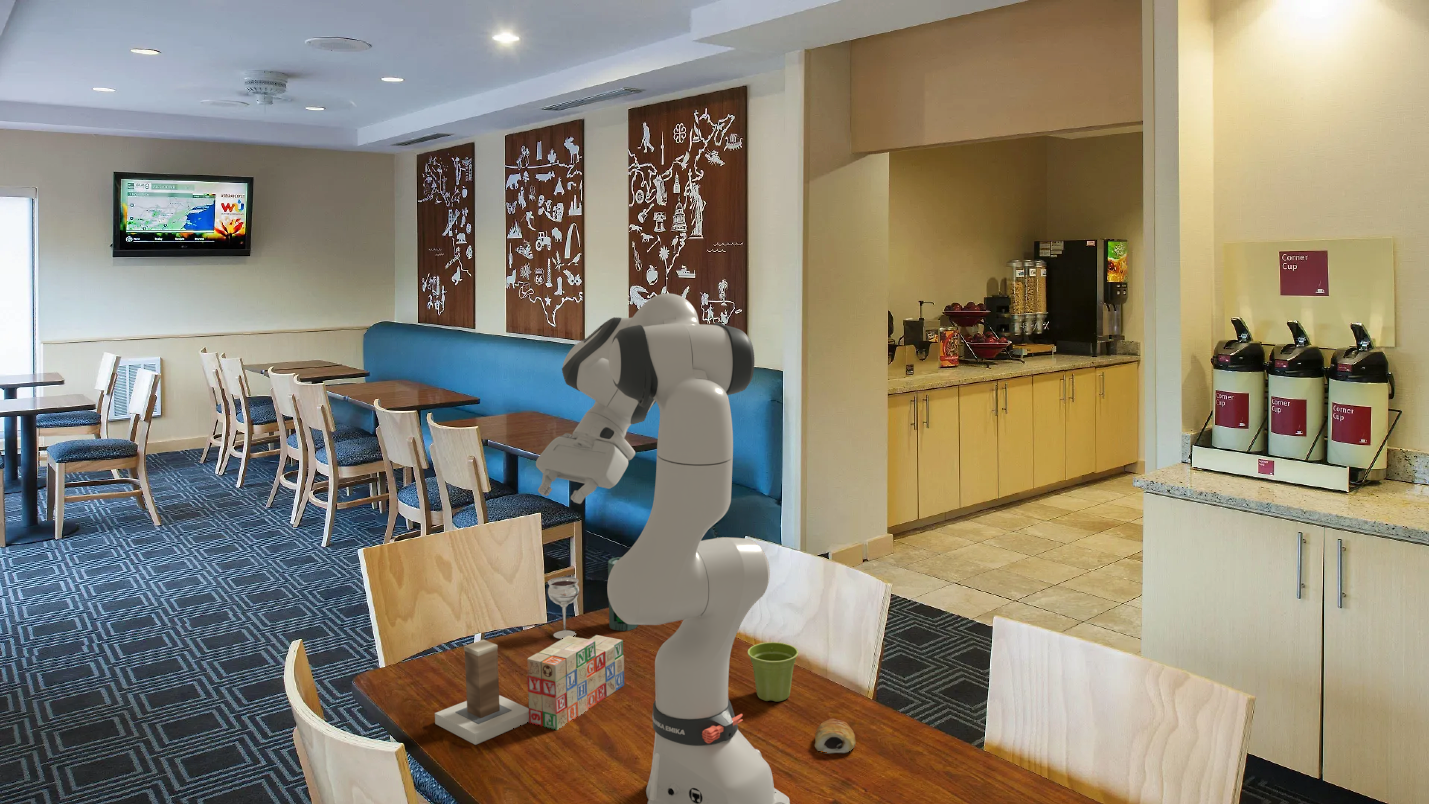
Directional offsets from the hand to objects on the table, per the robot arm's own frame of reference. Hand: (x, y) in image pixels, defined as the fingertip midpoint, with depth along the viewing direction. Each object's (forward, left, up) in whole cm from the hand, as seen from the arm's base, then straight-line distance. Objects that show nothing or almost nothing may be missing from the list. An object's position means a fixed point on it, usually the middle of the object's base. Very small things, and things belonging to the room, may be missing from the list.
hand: (558, 497), depth 187 cm
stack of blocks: (-7, +2, -38) cm, 38 cm away
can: (+16, -31, -38) cm, 51 cm away
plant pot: (-32, -24, -38) cm, 55 cm away
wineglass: (+22, -19, -38) cm, 47 cm away
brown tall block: (0, +18, -35) cm, 40 cm away
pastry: (-51, -16, -38) cm, 66 cm away
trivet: (0, +18, -37) cm, 42 cm away
